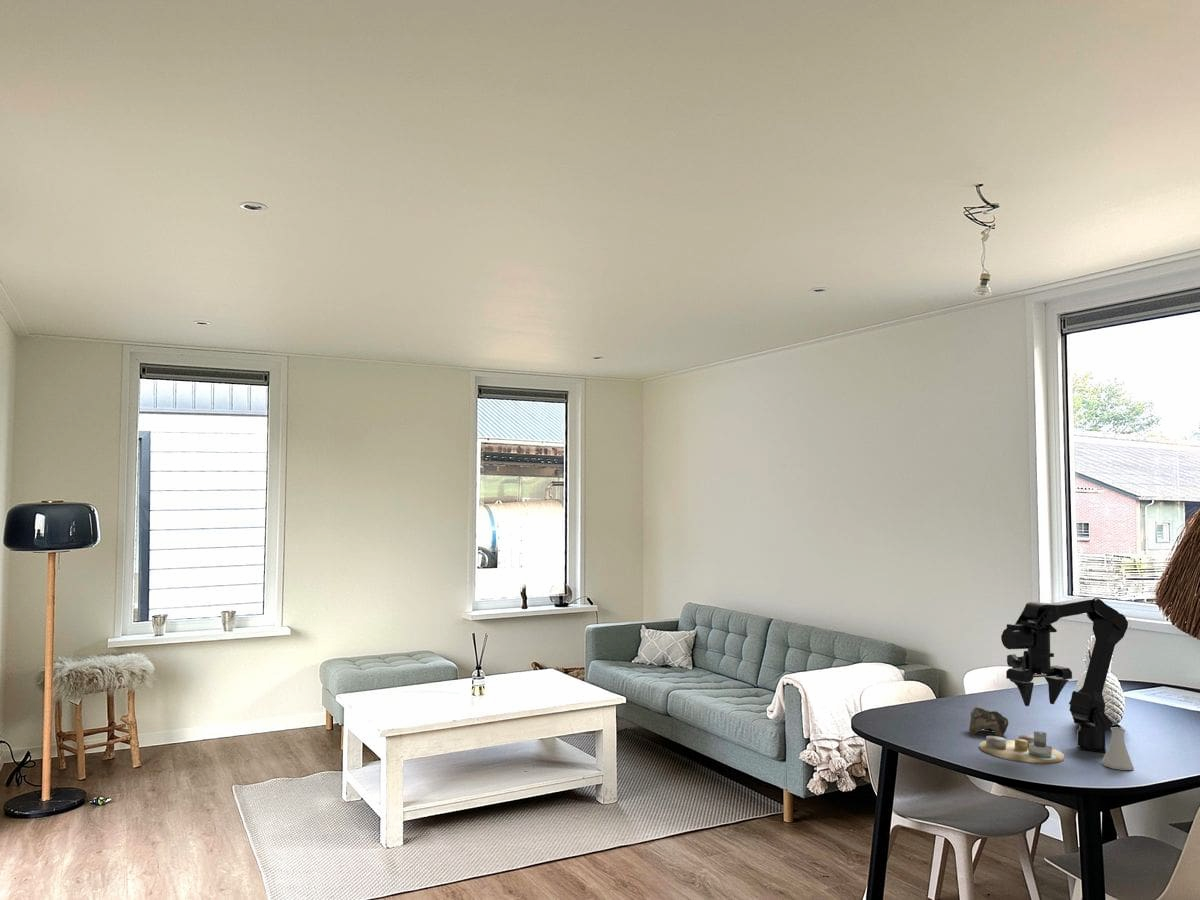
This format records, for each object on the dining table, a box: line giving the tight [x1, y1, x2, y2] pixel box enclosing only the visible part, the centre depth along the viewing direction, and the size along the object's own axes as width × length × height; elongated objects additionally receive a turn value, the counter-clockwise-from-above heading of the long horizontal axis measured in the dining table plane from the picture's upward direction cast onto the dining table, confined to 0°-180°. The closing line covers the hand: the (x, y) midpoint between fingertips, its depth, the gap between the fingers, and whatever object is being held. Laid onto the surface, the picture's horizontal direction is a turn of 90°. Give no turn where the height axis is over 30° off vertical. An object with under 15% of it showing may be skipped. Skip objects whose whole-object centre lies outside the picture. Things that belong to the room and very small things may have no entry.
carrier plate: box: [979, 733, 1065, 764], centre depth 247 cm, size 21×21×3 cm
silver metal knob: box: [1028, 730, 1053, 758], centre depth 242 cm, size 6×6×6 cm
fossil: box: [968, 706, 1009, 738], centre depth 267 cm, size 11×9×10 cm
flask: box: [1101, 726, 1135, 771], centre depth 237 cm, size 7×7×10 cm
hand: (1039, 705), depth 251 cm, fingers open, 9 cm apart
